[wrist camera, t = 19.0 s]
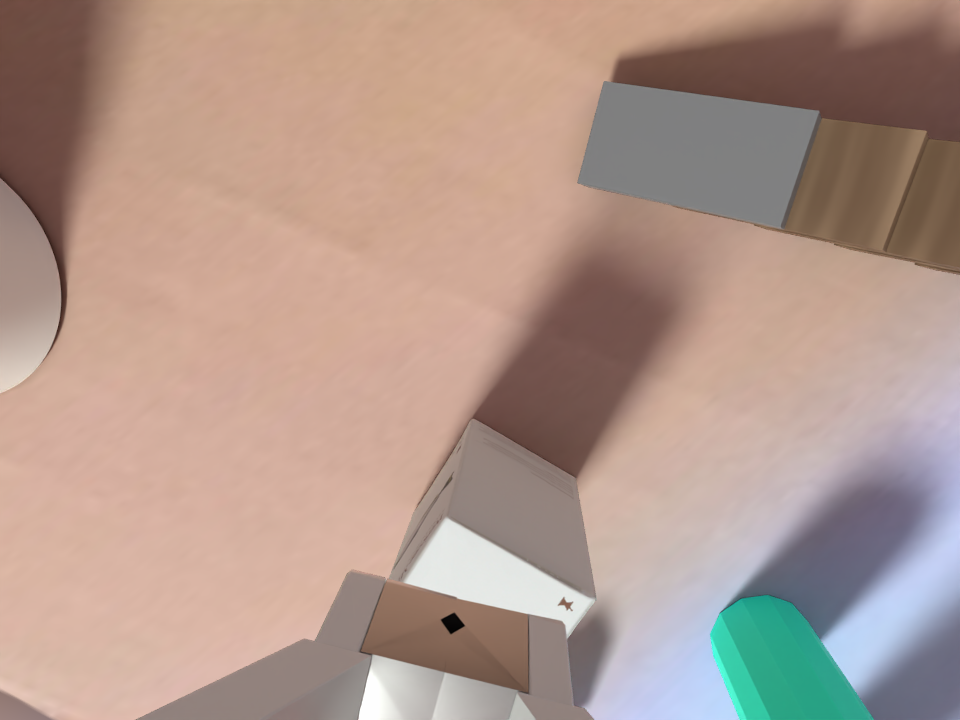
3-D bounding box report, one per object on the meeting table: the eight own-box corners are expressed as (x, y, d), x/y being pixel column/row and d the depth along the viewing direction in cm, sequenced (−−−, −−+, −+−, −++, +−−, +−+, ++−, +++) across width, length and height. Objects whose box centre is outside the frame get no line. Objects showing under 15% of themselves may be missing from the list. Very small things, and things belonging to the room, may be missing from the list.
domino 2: (754, 225, 34) (981, 272, 28) (786, 125, 33) (1032, 148, 27) (766, 229, 36) (988, 275, 29) (798, 132, 34) (1037, 157, 28)
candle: (831, 628, 41) (954, 799, 29) (767, 697, 42) (861, 887, 30) (751, 576, 40) (844, 729, 29) (689, 647, 42) (753, 821, 30)
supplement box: (471, 413, 39) (447, 510, 27) (579, 477, 40) (604, 601, 27) (409, 511, 41) (359, 645, 28) (513, 572, 41) (508, 729, 29)
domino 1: (667, 204, 34) (882, 249, 29) (696, 102, 33) (926, 130, 28) (678, 207, 36) (885, 252, 30) (706, 110, 34) (928, 138, 29)
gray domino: (577, 183, 34) (780, 227, 30) (604, 81, 33) (819, 110, 29) (588, 187, 36) (784, 229, 31) (614, 89, 35) (821, 119, 30)
